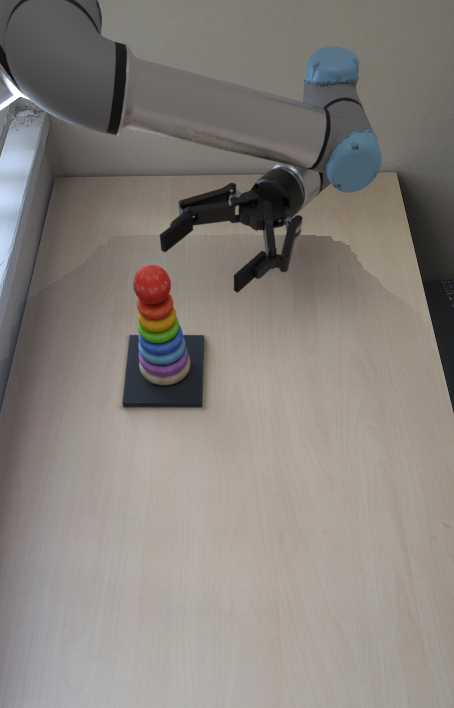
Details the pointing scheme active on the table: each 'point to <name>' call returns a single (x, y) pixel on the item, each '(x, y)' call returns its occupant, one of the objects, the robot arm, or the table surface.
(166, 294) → the stacking toy
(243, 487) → the table surface
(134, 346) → the mat
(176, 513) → the table surface
